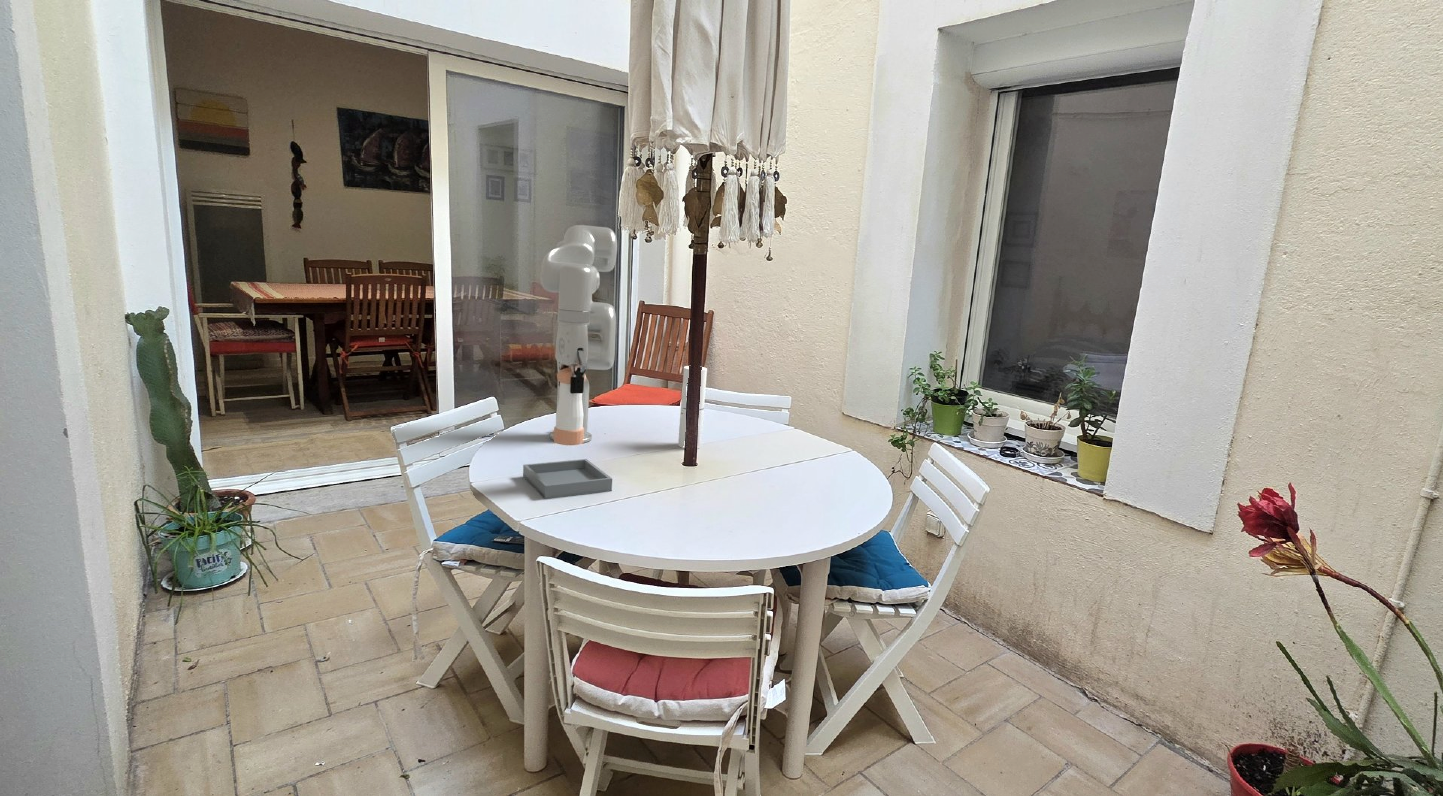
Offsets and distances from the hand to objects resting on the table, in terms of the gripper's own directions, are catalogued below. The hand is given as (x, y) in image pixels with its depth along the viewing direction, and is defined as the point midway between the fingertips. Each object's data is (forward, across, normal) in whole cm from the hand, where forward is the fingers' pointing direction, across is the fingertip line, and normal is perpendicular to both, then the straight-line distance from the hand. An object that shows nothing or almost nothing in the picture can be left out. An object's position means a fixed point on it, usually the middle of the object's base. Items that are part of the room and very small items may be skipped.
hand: (570, 389), depth 172 cm
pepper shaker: (+13, 0, 0) cm, 13 cm away
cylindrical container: (+24, -21, +48) cm, 58 cm away
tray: (+24, 0, 0) cm, 24 cm away
